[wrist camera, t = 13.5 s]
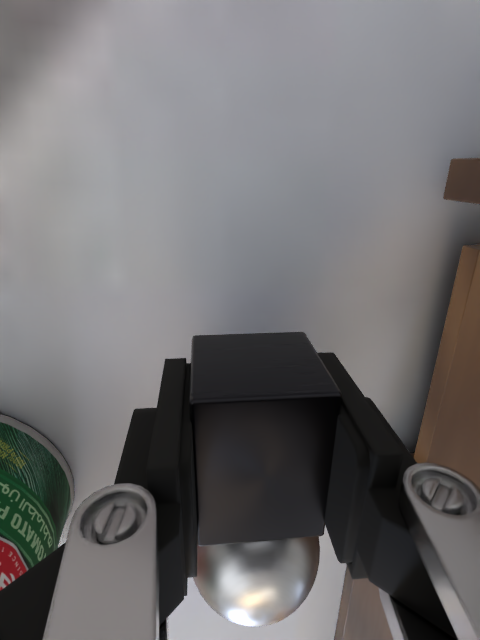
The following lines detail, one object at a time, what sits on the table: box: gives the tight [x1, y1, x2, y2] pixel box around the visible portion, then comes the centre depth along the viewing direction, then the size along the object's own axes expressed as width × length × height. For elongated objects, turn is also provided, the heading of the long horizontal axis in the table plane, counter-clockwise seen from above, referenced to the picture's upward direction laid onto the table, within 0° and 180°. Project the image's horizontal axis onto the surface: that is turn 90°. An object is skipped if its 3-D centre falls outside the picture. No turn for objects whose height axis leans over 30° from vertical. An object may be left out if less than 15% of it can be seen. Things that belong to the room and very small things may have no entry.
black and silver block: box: [189, 332, 342, 627], centre depth 10 cm, size 7×4×4 cm, turn 179°
